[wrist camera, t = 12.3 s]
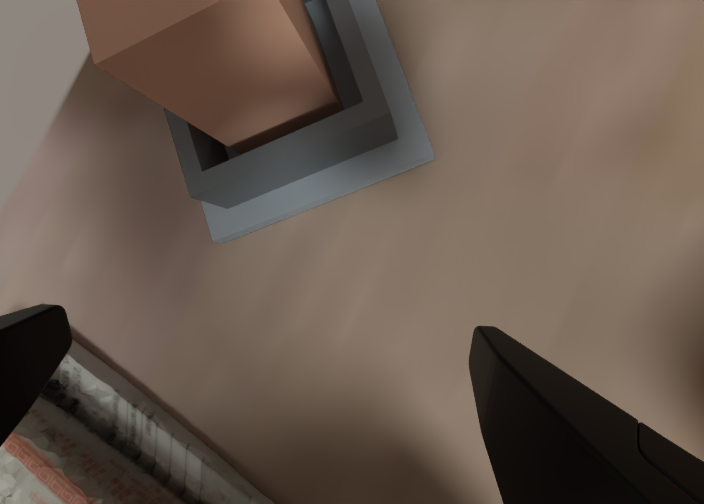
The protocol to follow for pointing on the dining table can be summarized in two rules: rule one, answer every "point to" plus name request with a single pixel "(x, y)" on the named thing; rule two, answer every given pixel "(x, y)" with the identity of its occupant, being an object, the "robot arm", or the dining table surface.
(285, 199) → the box
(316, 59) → the terracotta block
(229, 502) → the packaged product
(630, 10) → the dining table surface
